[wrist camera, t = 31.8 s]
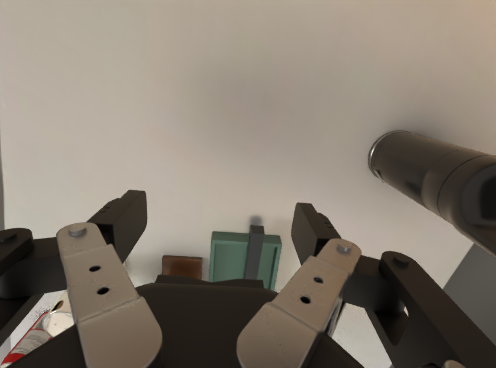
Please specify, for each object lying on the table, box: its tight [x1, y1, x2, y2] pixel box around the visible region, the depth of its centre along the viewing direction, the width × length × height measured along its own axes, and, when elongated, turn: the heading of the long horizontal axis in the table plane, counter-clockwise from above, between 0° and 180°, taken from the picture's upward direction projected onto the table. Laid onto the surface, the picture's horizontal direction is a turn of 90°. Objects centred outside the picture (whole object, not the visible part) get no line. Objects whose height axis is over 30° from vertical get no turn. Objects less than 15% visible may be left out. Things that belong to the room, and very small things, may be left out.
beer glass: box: [42, 261, 126, 338], centre depth 45 cm, size 7×7×15 cm
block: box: [243, 225, 265, 280], centre depth 50 cm, size 24×5×4 cm, turn 174°
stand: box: [162, 256, 202, 280], centre depth 40 cm, size 16×8×32 cm, turn 174°
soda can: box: [0, 311, 52, 368], centre depth 51 cm, size 6×6×12 cm
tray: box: [209, 232, 282, 291], centre depth 54 cm, size 24×14×3 cm, turn 174°
